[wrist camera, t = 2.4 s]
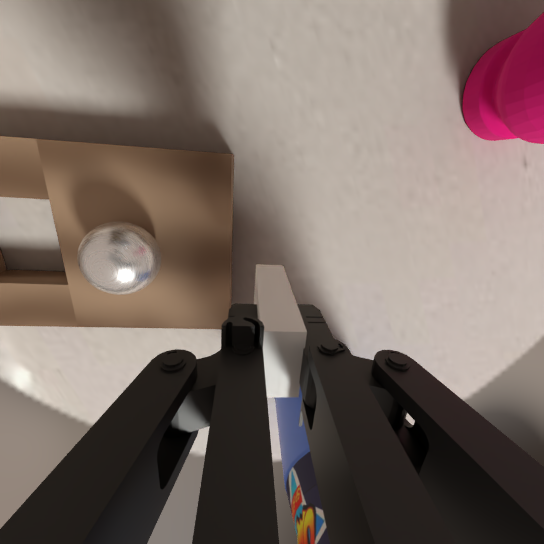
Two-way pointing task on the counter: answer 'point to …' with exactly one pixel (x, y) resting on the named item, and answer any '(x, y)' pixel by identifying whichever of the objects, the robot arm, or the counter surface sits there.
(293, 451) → the water bottle
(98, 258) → the steel ball
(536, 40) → the pepper mill
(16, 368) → the counter surface
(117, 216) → the walnut board
